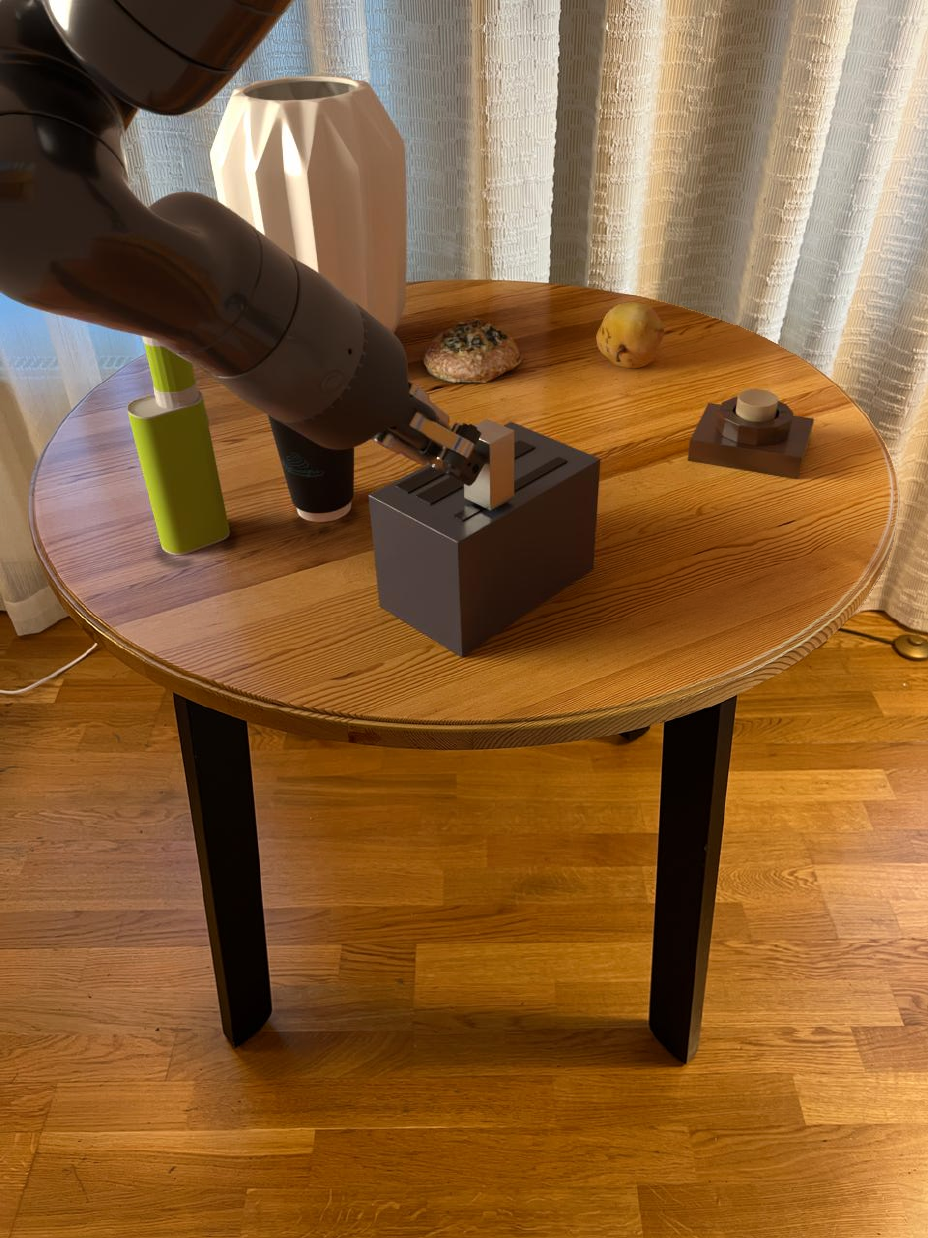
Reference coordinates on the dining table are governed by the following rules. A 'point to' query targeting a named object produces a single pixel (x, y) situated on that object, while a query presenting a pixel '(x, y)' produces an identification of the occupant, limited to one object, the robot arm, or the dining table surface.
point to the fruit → (630, 335)
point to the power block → (751, 440)
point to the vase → (321, 182)
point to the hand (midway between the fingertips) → (470, 469)
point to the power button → (756, 405)
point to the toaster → (485, 543)
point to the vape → (178, 455)
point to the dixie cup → (315, 474)
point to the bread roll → (471, 353)
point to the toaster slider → (493, 466)
